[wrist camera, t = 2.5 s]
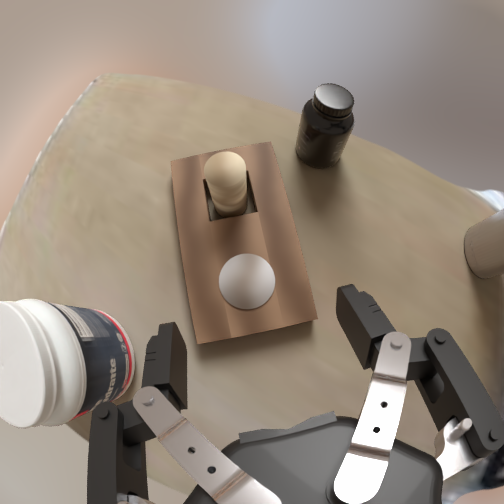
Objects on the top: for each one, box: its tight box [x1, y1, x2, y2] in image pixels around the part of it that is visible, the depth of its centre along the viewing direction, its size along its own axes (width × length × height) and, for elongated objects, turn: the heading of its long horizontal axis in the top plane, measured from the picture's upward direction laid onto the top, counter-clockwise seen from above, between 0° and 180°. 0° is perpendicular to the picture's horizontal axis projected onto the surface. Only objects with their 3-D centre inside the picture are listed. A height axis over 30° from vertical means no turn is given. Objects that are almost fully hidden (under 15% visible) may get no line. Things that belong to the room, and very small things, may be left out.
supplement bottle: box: [296, 84, 354, 168], centre depth 34 cm, size 7×7×12 cm
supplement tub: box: [0, 299, 135, 428], centre depth 24 cm, size 13×13×18 cm
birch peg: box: [204, 151, 247, 218], centre depth 33 cm, size 4×4×9 cm
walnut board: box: [171, 142, 318, 344], centre depth 35 cm, size 14×24×3 cm, turn 12°
